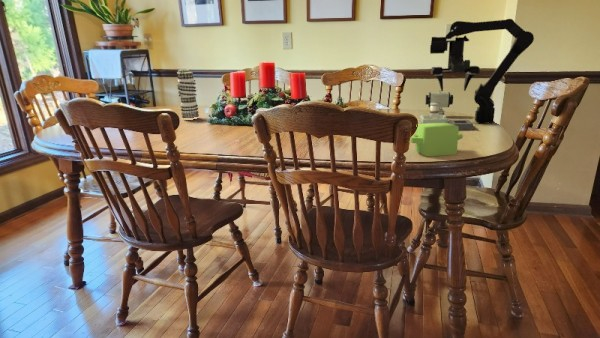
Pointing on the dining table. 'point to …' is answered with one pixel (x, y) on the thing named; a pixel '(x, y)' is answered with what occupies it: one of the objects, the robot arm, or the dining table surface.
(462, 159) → the dining table surface
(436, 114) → the white light bulb
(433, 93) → the pneumatic valve
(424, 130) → the gearbox
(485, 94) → the robot arm
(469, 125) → the grey square frame
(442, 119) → the parts tray
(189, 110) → the decorative candle
